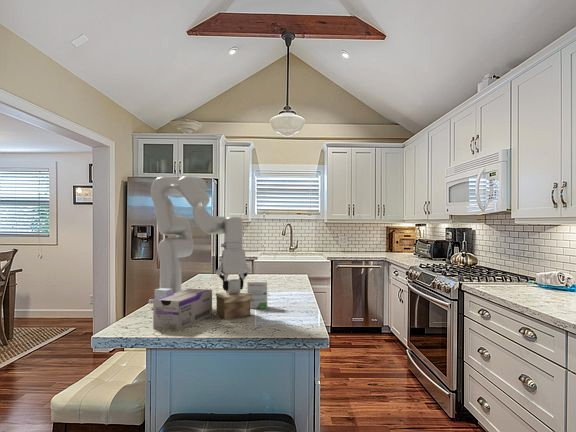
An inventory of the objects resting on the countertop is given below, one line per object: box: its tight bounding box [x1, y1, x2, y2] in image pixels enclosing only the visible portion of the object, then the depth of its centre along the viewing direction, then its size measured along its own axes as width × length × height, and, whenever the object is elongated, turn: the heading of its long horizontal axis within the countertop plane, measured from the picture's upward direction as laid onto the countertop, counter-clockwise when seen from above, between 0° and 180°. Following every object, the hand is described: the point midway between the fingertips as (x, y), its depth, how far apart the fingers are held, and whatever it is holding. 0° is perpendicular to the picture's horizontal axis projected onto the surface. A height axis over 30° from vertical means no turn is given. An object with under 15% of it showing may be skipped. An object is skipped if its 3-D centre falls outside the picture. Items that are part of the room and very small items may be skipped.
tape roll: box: [225, 278, 241, 293], centre depth 159 cm, size 6×6×5 cm
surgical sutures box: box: [152, 288, 213, 332], centre depth 150 cm, size 25×11×11 cm, turn 164°
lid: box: [215, 290, 252, 303], centre depth 159 cm, size 12×11×2 cm
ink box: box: [246, 280, 268, 309], centre depth 175 cm, size 9×5×12 cm, turn 83°
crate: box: [216, 296, 251, 321], centre depth 159 cm, size 11×10×8 cm
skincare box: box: [153, 287, 173, 299], centre depth 153 cm, size 6×4×12 cm
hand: (233, 289), depth 159 cm, fingers closed on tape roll, 5 cm apart
